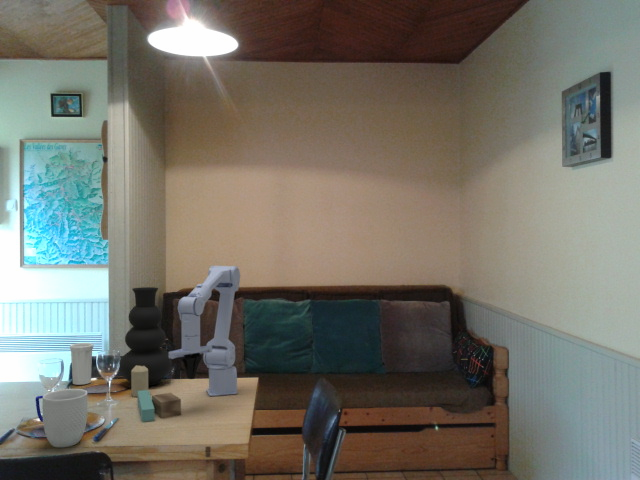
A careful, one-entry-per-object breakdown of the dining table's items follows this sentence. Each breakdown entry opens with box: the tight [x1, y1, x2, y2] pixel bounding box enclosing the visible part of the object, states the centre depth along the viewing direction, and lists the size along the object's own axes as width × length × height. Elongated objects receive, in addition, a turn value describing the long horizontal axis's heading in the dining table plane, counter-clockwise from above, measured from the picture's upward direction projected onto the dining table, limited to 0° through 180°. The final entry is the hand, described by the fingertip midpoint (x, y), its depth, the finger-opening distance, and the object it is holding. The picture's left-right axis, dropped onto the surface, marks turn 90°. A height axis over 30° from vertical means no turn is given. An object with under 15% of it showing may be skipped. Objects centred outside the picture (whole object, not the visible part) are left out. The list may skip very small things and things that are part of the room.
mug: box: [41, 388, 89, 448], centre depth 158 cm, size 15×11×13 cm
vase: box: [118, 286, 172, 387], centre depth 217 cm, size 18×18×35 cm
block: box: [151, 392, 182, 419], centre depth 182 cm, size 6×9×5 cm, turn 34°
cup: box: [69, 342, 94, 386], centre depth 217 cm, size 8×8×14 cm
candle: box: [130, 365, 149, 398], centre depth 202 cm, size 6×6×10 cm
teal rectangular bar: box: [137, 389, 155, 423], centre depth 184 cm, size 4×22×4 cm, turn 21°
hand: (191, 378), depth 185 cm, fingers closed
